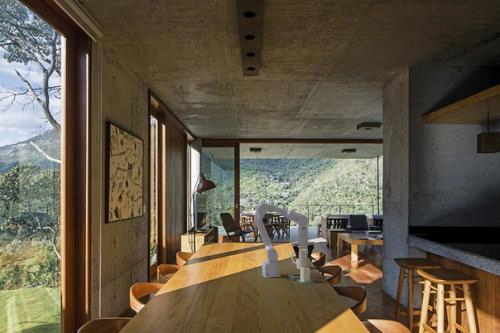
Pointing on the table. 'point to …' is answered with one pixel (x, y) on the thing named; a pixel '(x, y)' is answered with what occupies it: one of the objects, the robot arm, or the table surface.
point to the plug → (304, 274)
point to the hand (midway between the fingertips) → (303, 258)
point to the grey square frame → (294, 276)
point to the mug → (300, 258)
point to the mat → (306, 281)
